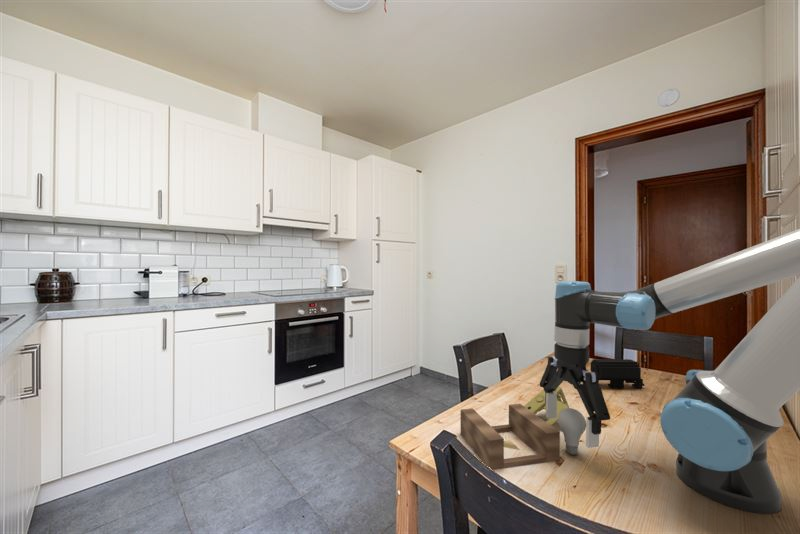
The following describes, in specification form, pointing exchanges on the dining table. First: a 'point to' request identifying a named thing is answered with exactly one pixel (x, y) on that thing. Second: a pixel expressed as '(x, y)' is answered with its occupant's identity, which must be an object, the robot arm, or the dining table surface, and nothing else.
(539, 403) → the bracket
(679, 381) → the dining table surface
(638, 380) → the security camera
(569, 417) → the lightbulb
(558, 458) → the brown open rectangular frame
